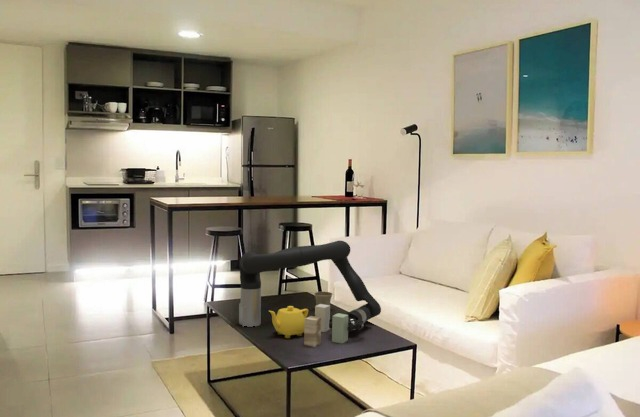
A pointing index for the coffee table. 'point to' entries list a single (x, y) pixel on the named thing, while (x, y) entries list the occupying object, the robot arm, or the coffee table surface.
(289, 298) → the coffee table surface
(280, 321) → the teapot
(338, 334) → the sage pillar
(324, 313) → the offwhite pillar
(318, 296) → the flower pot
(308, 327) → the birch pillar
